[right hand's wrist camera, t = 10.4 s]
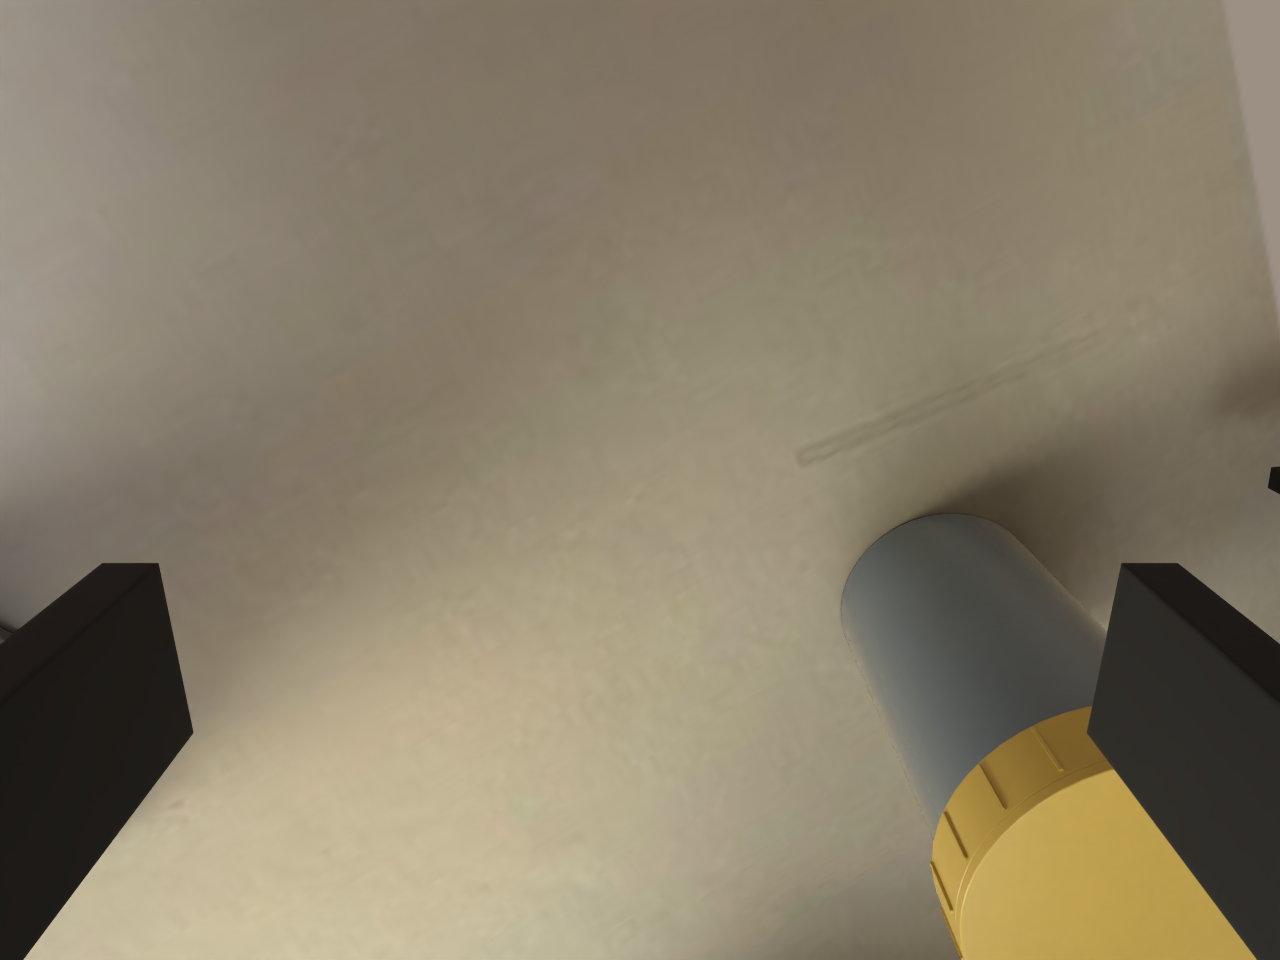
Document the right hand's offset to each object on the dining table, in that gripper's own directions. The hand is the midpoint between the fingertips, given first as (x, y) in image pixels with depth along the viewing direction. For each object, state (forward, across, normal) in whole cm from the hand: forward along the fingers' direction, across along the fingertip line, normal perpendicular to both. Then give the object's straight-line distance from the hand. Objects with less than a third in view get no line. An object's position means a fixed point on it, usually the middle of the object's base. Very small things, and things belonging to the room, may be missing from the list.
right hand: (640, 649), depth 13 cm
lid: (+7, +13, -12) cm, 19 cm away
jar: (+23, +13, -12) cm, 29 cm away
